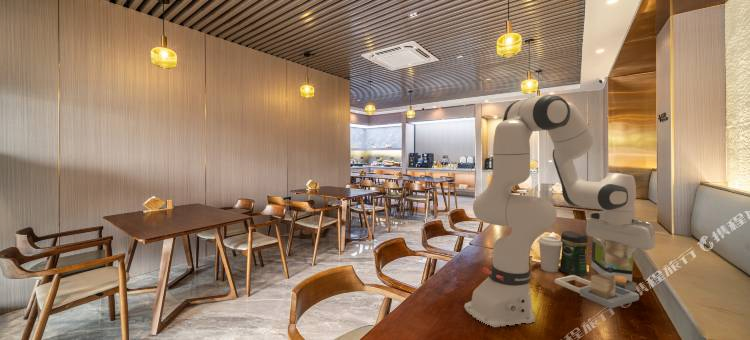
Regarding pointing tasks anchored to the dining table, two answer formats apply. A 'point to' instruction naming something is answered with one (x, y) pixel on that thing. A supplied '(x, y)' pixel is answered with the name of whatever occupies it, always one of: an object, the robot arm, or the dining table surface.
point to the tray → (563, 283)
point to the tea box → (607, 268)
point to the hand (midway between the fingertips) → (617, 254)
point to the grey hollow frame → (620, 298)
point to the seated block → (603, 286)
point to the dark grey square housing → (627, 285)
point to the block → (616, 254)
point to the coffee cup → (550, 253)
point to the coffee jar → (574, 253)
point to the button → (620, 279)
